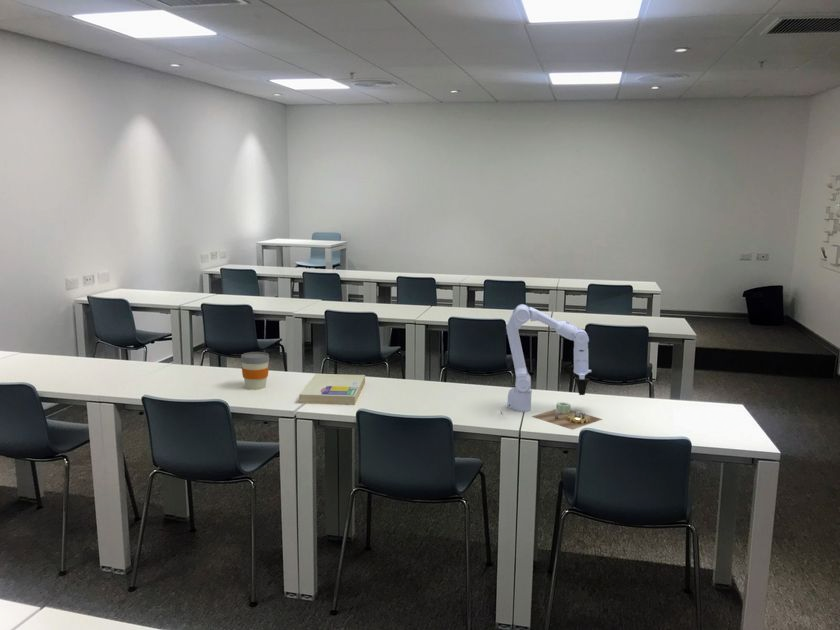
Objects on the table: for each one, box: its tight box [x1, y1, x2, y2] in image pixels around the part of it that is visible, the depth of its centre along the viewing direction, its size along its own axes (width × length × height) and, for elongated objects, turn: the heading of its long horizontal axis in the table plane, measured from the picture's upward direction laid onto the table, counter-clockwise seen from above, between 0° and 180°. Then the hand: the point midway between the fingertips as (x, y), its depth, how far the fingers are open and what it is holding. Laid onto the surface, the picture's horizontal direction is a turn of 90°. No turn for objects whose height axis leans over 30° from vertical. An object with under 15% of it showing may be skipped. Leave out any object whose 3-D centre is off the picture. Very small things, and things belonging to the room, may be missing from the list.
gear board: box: [531, 408, 603, 430], centre depth 271 cm, size 20×20×5 cm
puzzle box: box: [298, 373, 366, 406], centre depth 303 cm, size 36×5×24 cm
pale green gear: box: [555, 401, 572, 414], centre depth 279 cm, size 6×6×3 cm
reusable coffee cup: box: [240, 351, 270, 391], centre depth 309 cm, size 13×13×15 cm
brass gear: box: [566, 412, 589, 424], centre depth 268 cm, size 9×9×4 cm
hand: (581, 392), depth 277 cm, fingers open, 7 cm apart
